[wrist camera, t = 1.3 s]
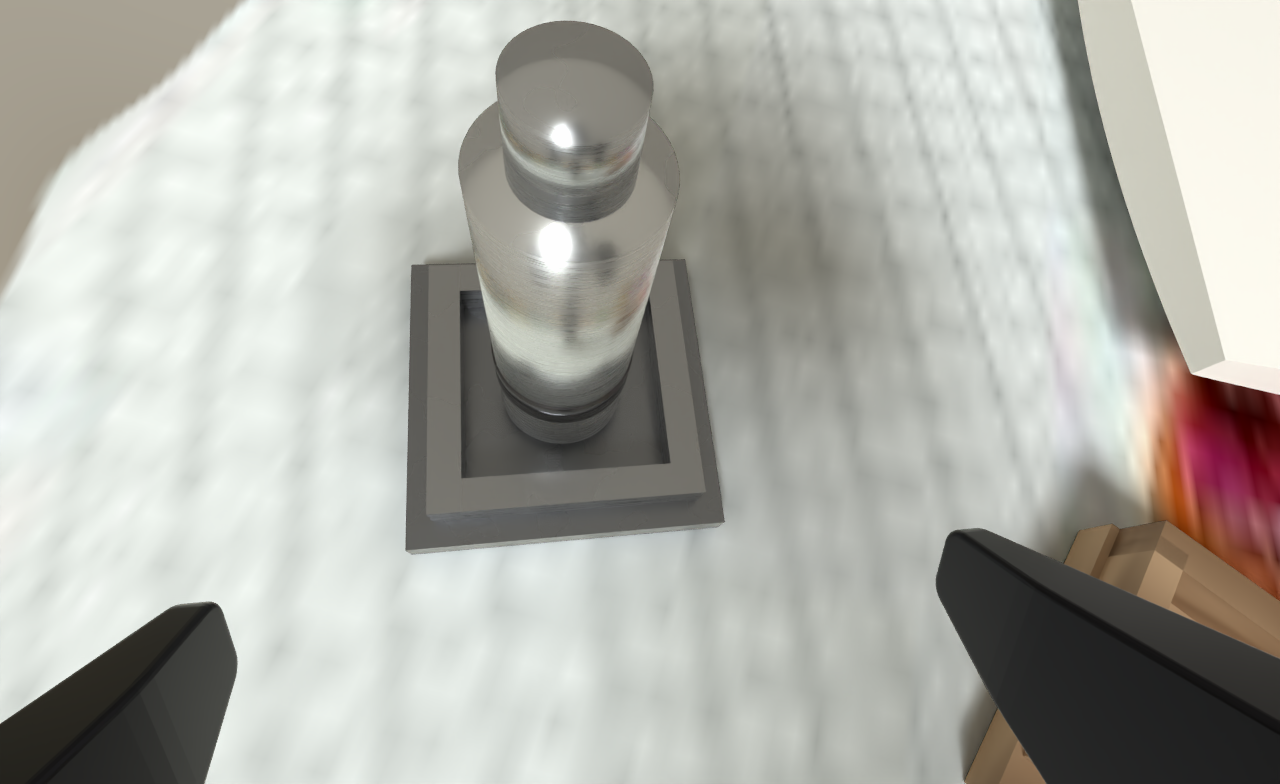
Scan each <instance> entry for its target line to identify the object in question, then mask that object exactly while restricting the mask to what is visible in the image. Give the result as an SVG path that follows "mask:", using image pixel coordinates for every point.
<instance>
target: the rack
mask: <svg viewBox="0 0 1280 784" xmlns="http://www.w3.org/2000/svg"><path fill="white" fill-rule="evenodd" d="M1064 564H1065V565H1068V566H1070V567H1072V568H1074V569H1077V570H1079V571H1081V572H1084V573H1086V574H1088V575H1090V576H1093V577H1095V578H1097V579H1100V580H1102V581H1104V582H1106V583H1109V584H1111V585H1113V586H1116V587H1118V588H1120V589H1122V590H1125V591H1127V592H1129V593H1132V594H1134V595H1136V596H1138V597H1141V598H1143V599H1145V600H1148V601H1150V602H1152V603H1154V604H1157V605H1159V606H1161V607H1164V608H1166V609H1168V610H1170V611H1173V612H1175V613H1177V614H1179V615H1182V616H1184V617H1186V618H1189V619H1191V620H1193V621H1195V622H1198V623H1200V624H1202V625H1205V626H1207V627H1209V628H1211V629H1214V630H1216V631H1218V632H1221V633H1223V634H1225V635H1227V636H1230V637H1232V638H1234V639H1237V640H1239V641H1241V642H1243V643H1246V644H1248V645H1250V646H1253V647H1255V648H1257V649H1259V650H1262V651H1264V652H1266V653H1269V654H1271V655H1273V656H1275V657H1278V658H1280V601H1278V600H1277V599H1276V598H1274V597H1273V596H1272V595H1270V594H1269V593H1267V592H1266V591H1265V590H1263V589H1262V588H1260V587H1259V586H1258V585H1256V584H1255V583H1253V582H1252V581H1251V580H1249V579H1248V578H1246V577H1245V576H1244V575H1242V574H1241V573H1239V572H1238V571H1237V570H1235V569H1234V568H1232V567H1231V566H1230V565H1228V564H1227V563H1225V562H1224V561H1223V560H1221V559H1220V558H1218V557H1217V556H1216V555H1214V554H1213V553H1211V552H1210V551H1209V550H1207V549H1206V548H1204V547H1203V546H1202V545H1200V544H1199V543H1198V542H1196V541H1195V540H1193V539H1192V538H1191V537H1189V536H1188V535H1186V534H1185V533H1184V532H1182V531H1181V530H1179V529H1178V528H1177V527H1175V526H1174V525H1172V524H1171V523H1170V522H1168V521H1167V520H1165V521H1160V522H1155V523H1150V524H1144V525H1139V526H1134V527H1129V528H1124V529H1119V528H1118V527H1116V526H1115V525H1113V524H1108V525H1103V526H1099V527H1094V528H1089V529H1084V530H1079V532H1078V534H1077V536H1076V538H1075V540H1074V543H1073V545H1072V547H1071V549H1070V551H1069V554H1068V556H1067V558H1066V560H1065V562H1064ZM964 782H965V783H966V784H1046V783H1045V781H1044V779H1043V778H1042V776H1041V775H1040V773H1039V772H1038V770H1037V769H1036V767H1035V765H1034V764H1033V762H1032V761H1031V759H1030V758H1029V756H1028V755H1027V753H1026V752H1025V750H1024V748H1023V747H1022V745H1021V744H1020V742H1019V741H1018V739H1017V738H1016V736H1015V734H1014V733H1013V731H1012V730H1011V728H1010V727H1009V725H1008V724H1007V722H1006V720H1005V719H1004V717H1003V716H1002V714H1001V712H1000V711H999V709H997V711H996V713H995V715H994V718H993V720H992V722H991V724H990V726H989V728H988V731H987V733H986V735H985V737H984V739H983V742H982V744H981V746H980V748H979V750H978V752H977V755H976V757H975V759H974V761H973V763H972V766H971V768H970V770H969V772H968V774H967V777H966V779H965V781H964Z"/></svg>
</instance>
